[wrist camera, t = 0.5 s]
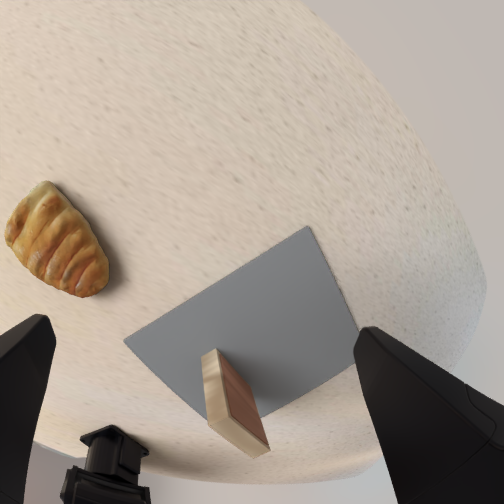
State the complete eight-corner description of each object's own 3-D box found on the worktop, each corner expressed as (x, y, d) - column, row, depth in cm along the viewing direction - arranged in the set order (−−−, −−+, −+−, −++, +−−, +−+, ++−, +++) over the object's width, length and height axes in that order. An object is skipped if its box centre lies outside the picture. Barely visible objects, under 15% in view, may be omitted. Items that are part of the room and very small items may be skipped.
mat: (224, 432, 28) (225, 434, 28) (124, 339, 23) (123, 341, 22) (366, 351, 29) (367, 353, 28) (306, 225, 23) (308, 226, 23)
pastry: (132, 250, 21) (120, 268, 18) (87, 307, 22) (73, 331, 18) (49, 172, 18) (24, 176, 14) (12, 236, 18) (-12, 250, 15)
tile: (236, 394, 26) (253, 458, 19) (200, 356, 24) (208, 426, 17) (251, 386, 26) (271, 450, 19) (217, 347, 24) (229, 416, 17)
